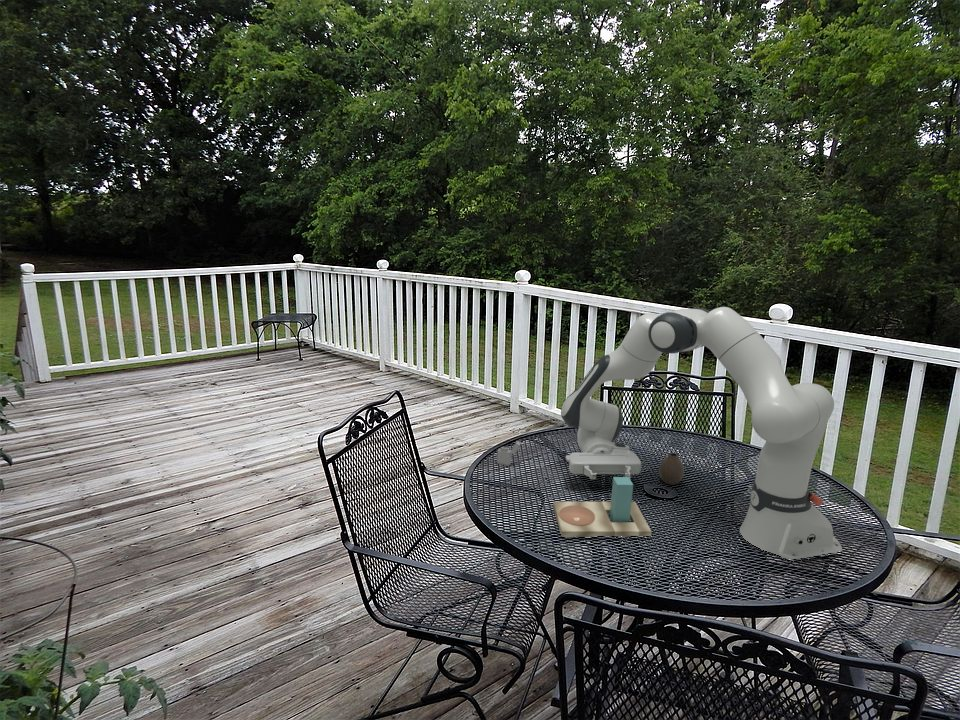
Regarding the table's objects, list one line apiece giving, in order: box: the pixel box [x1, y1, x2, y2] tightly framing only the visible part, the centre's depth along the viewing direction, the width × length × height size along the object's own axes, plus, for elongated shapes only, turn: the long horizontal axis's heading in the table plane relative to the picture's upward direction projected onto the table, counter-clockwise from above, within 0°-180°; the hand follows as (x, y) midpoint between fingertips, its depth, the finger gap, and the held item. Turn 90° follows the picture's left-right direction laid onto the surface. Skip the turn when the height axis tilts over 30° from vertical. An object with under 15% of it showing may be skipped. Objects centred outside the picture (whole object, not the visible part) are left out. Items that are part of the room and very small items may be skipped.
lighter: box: [496, 440, 522, 466], centre depth 176 cm, size 7×2×8 cm, turn 72°
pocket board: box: [552, 501, 652, 537], centre depth 146 cm, size 22×14×2 cm, turn 92°
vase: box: [658, 452, 685, 486], centre depth 167 cm, size 7×7×9 cm
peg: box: [609, 476, 634, 522], centre depth 145 cm, size 4×4×12 cm
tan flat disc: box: [559, 506, 595, 526], centre depth 146 cm, size 9×9×1 cm
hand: (610, 476), depth 156 cm, fingers open, 8 cm apart
